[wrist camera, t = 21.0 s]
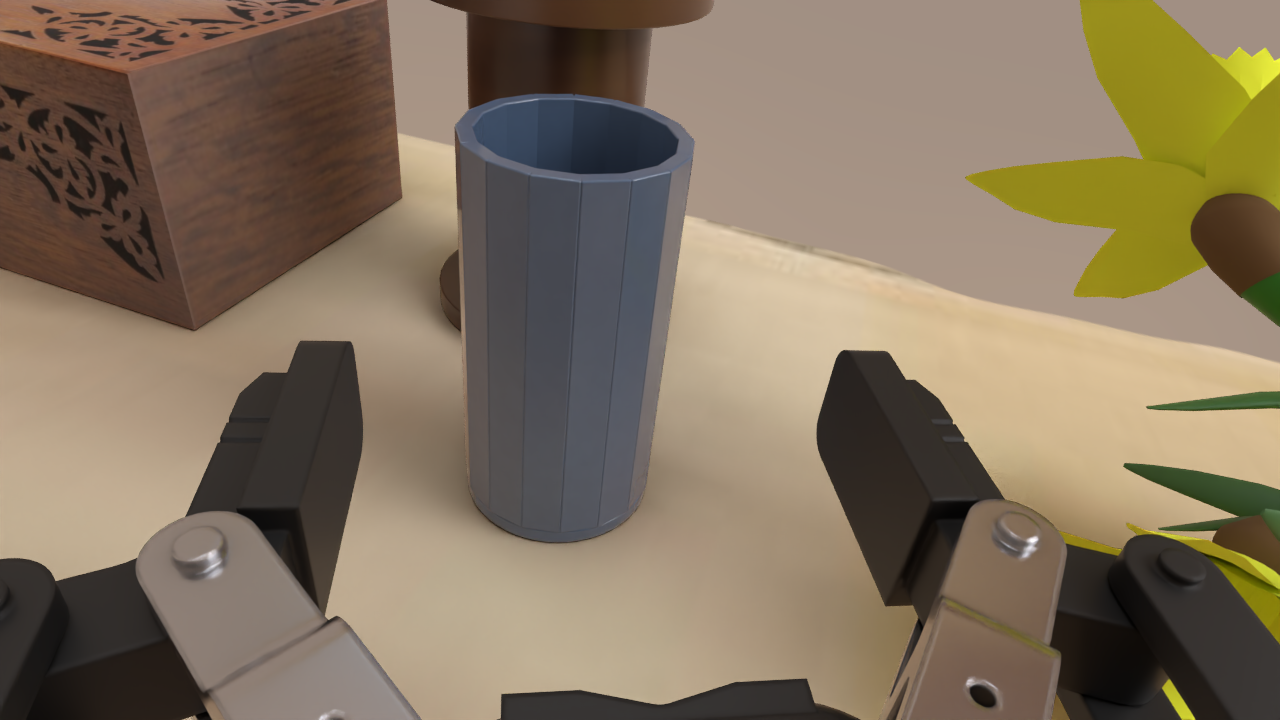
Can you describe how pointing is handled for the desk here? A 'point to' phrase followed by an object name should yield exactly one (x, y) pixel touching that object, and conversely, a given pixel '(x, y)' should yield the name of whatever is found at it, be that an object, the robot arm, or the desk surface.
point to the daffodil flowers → (1180, 235)
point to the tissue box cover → (189, 143)
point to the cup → (565, 304)
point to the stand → (559, 59)
